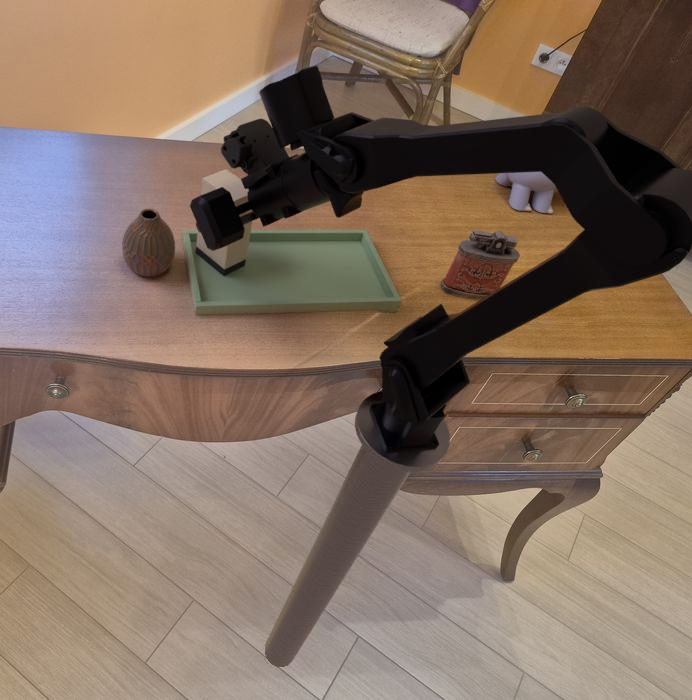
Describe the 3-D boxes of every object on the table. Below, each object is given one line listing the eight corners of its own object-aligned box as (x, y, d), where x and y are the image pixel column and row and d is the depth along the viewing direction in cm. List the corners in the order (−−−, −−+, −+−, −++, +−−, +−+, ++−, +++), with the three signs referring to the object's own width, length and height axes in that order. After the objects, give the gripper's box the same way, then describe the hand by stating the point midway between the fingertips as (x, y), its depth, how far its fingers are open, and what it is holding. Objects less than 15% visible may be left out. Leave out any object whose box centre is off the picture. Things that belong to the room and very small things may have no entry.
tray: (397, 311, 83) (402, 300, 81) (194, 317, 78) (196, 306, 76) (362, 240, 93) (366, 229, 92) (182, 241, 88) (182, 229, 87)
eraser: (245, 265, 85) (257, 191, 76) (223, 276, 83) (234, 201, 74) (216, 243, 88) (226, 168, 79) (195, 253, 86) (202, 177, 77)
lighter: (493, 287, 89) (525, 230, 81) (498, 302, 86) (531, 246, 79) (438, 279, 89) (465, 221, 81) (441, 294, 86) (470, 237, 79)
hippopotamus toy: (583, 217, 105) (615, 168, 98) (499, 210, 103) (526, 159, 96) (559, 182, 112) (587, 134, 105) (481, 175, 111) (504, 125, 104)
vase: (113, 273, 82) (111, 219, 75) (138, 246, 86) (138, 192, 80) (159, 291, 80) (161, 237, 74) (182, 262, 85) (186, 208, 78)
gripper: (332, 92, 70) (253, 138, 83) (208, 133, 61) (141, 177, 74) (365, 185, 73) (283, 215, 86) (251, 238, 63) (178, 263, 76)
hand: (224, 215), depth 80 cm, fingers open, 9 cm apart
